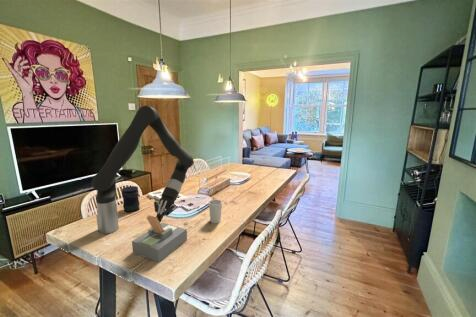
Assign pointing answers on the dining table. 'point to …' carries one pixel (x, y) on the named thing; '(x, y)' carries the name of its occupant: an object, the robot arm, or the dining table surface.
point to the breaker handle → (155, 224)
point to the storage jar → (130, 199)
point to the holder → (159, 194)
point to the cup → (215, 210)
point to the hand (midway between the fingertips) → (156, 222)
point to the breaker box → (159, 242)
